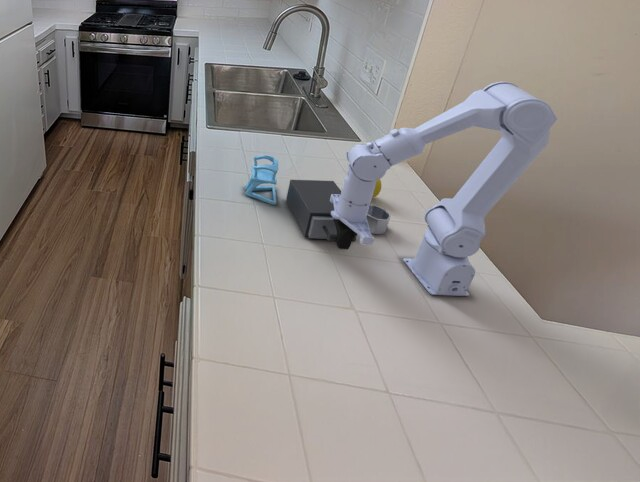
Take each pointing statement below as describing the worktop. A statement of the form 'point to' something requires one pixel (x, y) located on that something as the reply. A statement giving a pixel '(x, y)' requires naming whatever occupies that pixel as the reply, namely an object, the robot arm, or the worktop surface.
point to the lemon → (377, 188)
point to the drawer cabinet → (310, 201)
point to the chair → (263, 178)
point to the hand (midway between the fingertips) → (341, 246)
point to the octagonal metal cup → (377, 219)
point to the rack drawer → (323, 228)
